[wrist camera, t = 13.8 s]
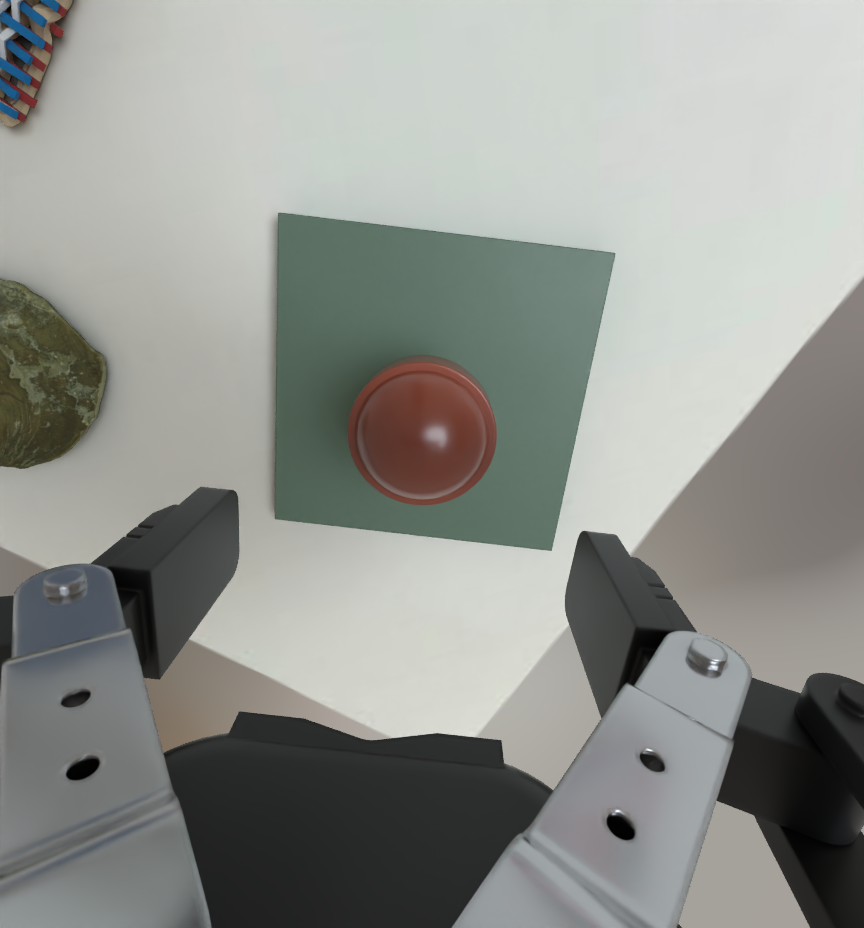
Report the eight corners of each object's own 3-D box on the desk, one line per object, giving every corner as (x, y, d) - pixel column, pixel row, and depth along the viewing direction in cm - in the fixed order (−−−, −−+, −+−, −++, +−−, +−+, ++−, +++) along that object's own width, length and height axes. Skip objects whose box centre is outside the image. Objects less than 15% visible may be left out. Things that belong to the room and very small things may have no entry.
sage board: (285, 215, 26) (277, 212, 24) (608, 254, 26) (615, 253, 25) (280, 510, 31) (274, 519, 30) (548, 541, 31) (551, 551, 30)
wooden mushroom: (375, 335, 26) (341, 360, 18) (493, 348, 26) (514, 381, 18) (366, 447, 28) (333, 518, 20) (477, 460, 28) (488, 536, 20)
